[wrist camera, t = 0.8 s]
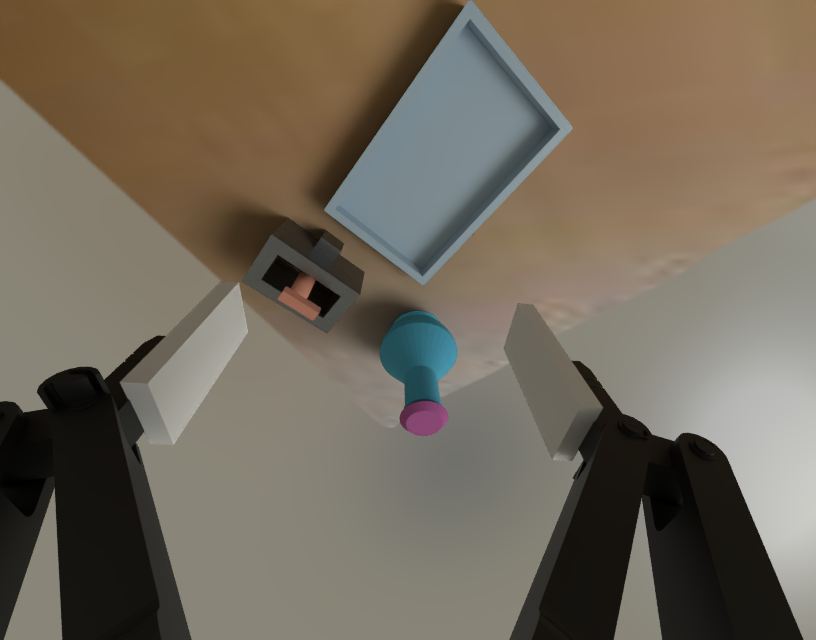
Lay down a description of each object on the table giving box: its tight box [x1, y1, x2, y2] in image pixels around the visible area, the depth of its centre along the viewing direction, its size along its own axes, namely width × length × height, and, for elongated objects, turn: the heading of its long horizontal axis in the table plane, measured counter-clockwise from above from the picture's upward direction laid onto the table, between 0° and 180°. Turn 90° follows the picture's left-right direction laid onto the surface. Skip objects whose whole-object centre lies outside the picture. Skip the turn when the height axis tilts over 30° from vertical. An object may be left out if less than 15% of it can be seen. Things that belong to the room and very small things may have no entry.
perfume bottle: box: [380, 311, 457, 436], centre depth 38 cm, size 9×9×15 cm
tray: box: [324, 0, 573, 286], centre depth 32 cm, size 13×20×2 cm, turn 140°
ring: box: [242, 218, 364, 333], centre depth 36 cm, size 10×8×6 cm
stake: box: [278, 270, 321, 321], centre depth 35 cm, size 4×2×9 cm, turn 50°
